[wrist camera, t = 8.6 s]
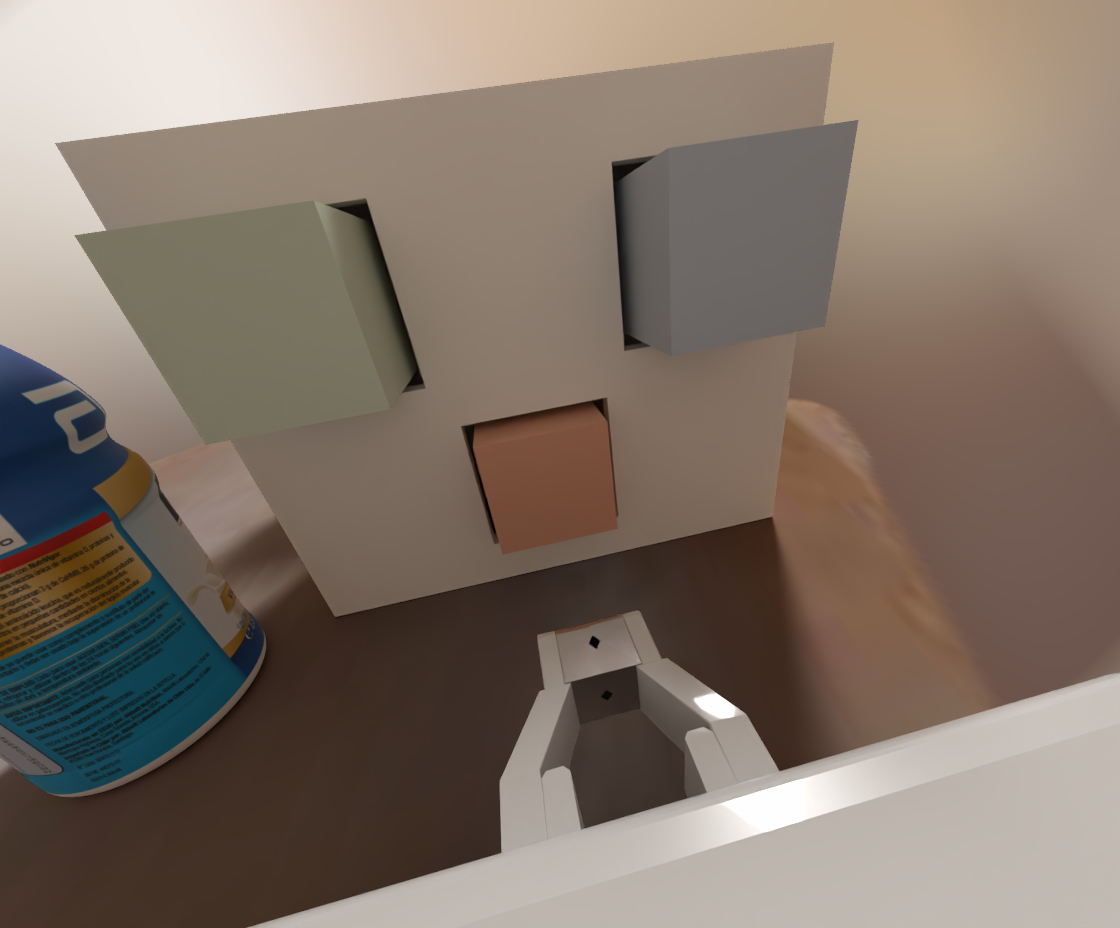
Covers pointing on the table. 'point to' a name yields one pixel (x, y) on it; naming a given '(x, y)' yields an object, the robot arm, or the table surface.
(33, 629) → the beverage bottle
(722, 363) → the button panel
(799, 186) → the slate-blue button
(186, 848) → the table surface
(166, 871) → the table surface
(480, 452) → the terracotta button
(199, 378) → the sage-green button
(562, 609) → the table surface
